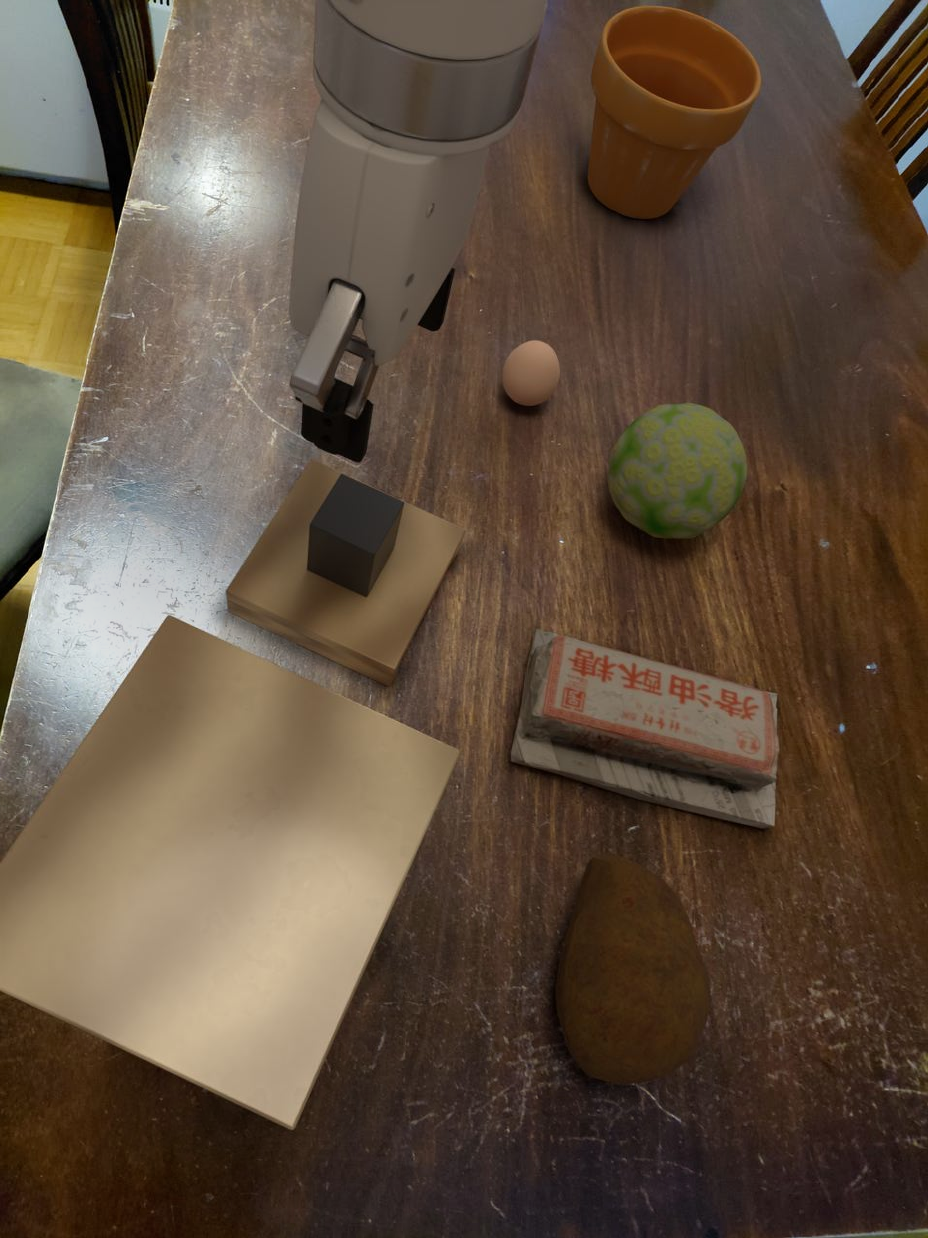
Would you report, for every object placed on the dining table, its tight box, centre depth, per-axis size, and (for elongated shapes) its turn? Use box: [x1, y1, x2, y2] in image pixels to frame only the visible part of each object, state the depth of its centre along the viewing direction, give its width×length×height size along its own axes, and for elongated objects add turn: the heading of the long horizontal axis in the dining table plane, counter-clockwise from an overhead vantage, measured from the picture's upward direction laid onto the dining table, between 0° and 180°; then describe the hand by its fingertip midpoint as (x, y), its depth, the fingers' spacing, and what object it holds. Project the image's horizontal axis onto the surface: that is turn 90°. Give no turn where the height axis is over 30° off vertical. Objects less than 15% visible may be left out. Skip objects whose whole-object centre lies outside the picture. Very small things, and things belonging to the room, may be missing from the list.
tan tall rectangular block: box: [0, 614, 461, 1131], centre depth 39 cm, size 10×11×30 cm
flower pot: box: [587, 5, 762, 220], centre depth 83 cm, size 14×14×13 cm
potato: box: [555, 851, 712, 1087], centre depth 51 cm, size 8×12×9 cm
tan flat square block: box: [225, 458, 467, 688], centre depth 63 cm, size 12×12×3 cm
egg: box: [501, 339, 561, 407], centre depth 72 cm, size 4×4×6 cm
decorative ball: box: [607, 402, 748, 540], centre depth 67 cm, size 10×10×10 cm
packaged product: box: [510, 628, 781, 829], centre depth 61 cm, size 18×5×10 cm
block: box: [307, 472, 404, 597], centre depth 59 cm, size 4×4×6 cm
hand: (375, 379), depth 47 cm, fingers open, 9 cm apart
